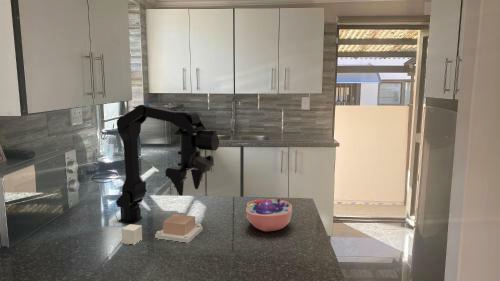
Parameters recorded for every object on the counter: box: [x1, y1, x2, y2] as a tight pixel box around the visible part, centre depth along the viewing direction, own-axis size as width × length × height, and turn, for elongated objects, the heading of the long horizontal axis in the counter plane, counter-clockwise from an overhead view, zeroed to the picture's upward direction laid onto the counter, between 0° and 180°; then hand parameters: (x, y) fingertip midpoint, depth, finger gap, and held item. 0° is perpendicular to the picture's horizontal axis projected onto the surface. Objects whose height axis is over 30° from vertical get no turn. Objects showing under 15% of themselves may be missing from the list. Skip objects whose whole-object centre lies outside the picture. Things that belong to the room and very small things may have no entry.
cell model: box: [245, 198, 293, 232], centre depth 134 cm, size 17×20×11 cm
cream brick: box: [121, 223, 143, 246], centre depth 121 cm, size 4×4×5 cm
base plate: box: [154, 213, 204, 244], centre depth 127 cm, size 12×12×6 cm
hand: (188, 192), depth 130 cm, fingers open, 9 cm apart
